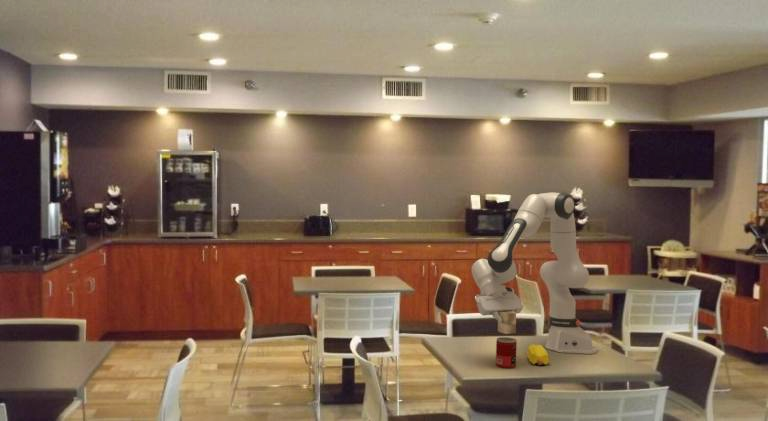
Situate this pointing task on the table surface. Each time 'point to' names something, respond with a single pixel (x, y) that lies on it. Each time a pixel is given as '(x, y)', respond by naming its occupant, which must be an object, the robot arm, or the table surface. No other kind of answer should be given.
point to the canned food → (506, 352)
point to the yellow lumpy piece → (537, 355)
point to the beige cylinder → (507, 322)
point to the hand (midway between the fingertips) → (508, 321)
